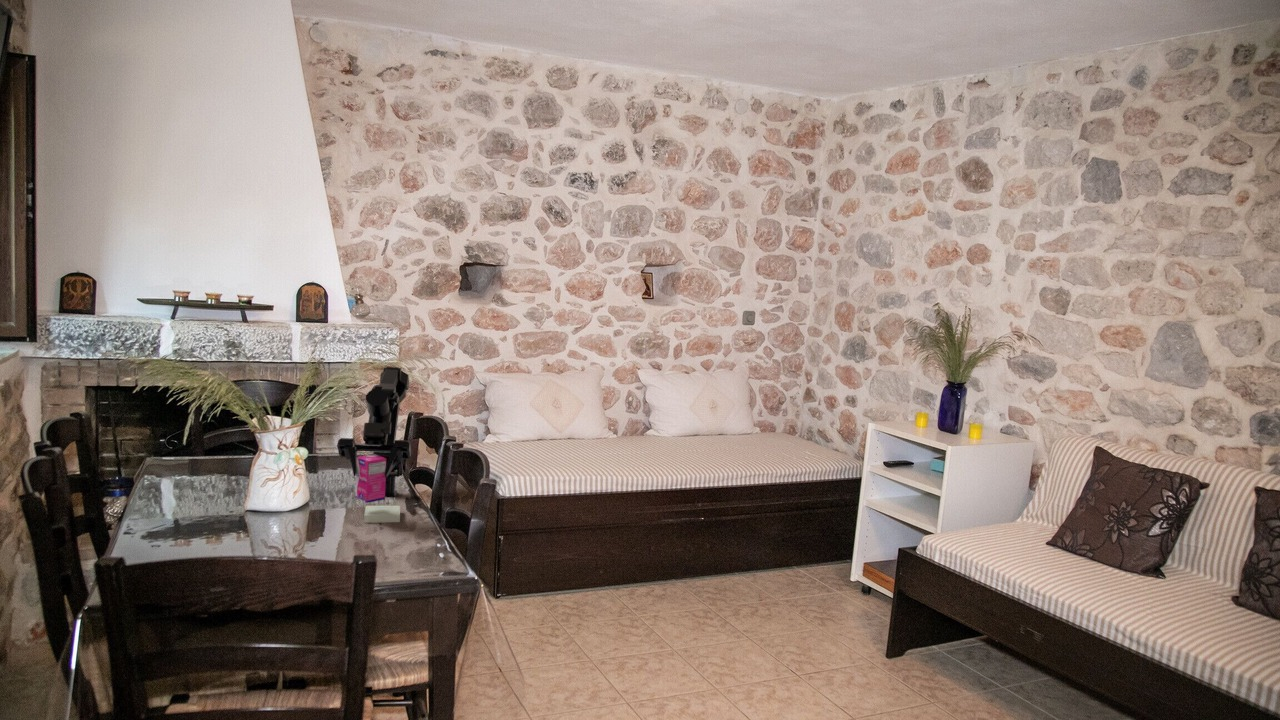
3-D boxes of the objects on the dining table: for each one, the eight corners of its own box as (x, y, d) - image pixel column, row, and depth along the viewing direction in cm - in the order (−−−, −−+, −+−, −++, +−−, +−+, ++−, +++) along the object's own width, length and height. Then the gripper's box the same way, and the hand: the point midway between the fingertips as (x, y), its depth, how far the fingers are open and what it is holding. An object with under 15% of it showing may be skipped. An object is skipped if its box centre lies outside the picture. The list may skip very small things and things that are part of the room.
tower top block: (365, 512, 227) (365, 505, 227) (399, 512, 229) (399, 505, 229) (364, 522, 218) (364, 515, 218) (399, 522, 221) (400, 515, 221)
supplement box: (354, 498, 221) (355, 456, 220) (373, 494, 226) (375, 453, 225) (366, 503, 218) (367, 460, 216) (385, 499, 222) (387, 457, 221)
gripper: (339, 408, 222) (329, 458, 212) (411, 411, 225) (404, 461, 215) (344, 431, 230) (335, 480, 221) (413, 434, 233) (407, 482, 224)
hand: (370, 475), depth 220 cm, fingers closed on supplement box, 8 cm apart
